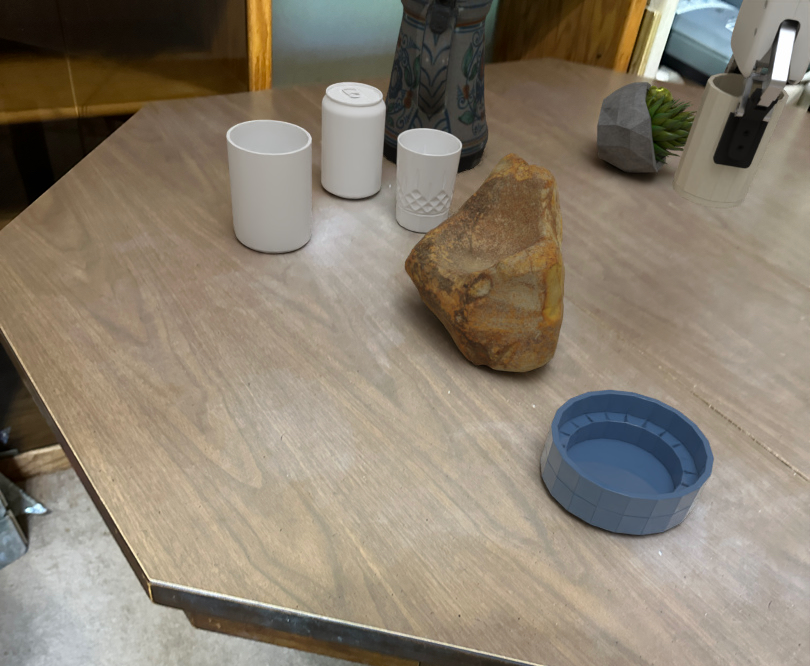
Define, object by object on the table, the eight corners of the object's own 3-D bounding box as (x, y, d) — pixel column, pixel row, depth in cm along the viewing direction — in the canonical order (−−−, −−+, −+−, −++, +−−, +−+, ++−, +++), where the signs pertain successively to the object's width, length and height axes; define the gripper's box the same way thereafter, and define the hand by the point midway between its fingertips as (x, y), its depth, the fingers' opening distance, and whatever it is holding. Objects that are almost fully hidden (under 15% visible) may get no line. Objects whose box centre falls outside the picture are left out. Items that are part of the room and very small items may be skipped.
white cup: (412, 240, 97) (420, 159, 90) (380, 212, 101) (385, 133, 94) (462, 229, 100) (474, 149, 93) (429, 202, 105) (438, 124, 97)
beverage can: (333, 205, 102) (335, 107, 93) (312, 178, 106) (312, 82, 97) (389, 198, 104) (396, 103, 95) (367, 172, 109) (371, 78, 100)
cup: (735, 180, 75) (777, 78, 68) (751, 212, 71) (797, 107, 64) (667, 171, 75) (702, 69, 68) (678, 203, 71) (716, 96, 64)
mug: (226, 250, 92) (217, 148, 83) (247, 204, 100) (241, 107, 91) (305, 260, 92) (304, 159, 83) (320, 213, 100) (321, 117, 91)
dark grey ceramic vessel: (458, 125, 123) (485, -70, 104) (511, 180, 112) (551, -29, 93) (360, 131, 118) (369, -73, 99) (404, 188, 107) (424, -30, 88)
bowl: (677, 438, 76) (696, 398, 72) (706, 547, 67) (729, 507, 63) (535, 423, 76) (546, 382, 72) (544, 530, 66) (558, 489, 62)
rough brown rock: (408, 265, 95) (408, 139, 83) (543, 269, 94) (563, 142, 83) (399, 387, 80) (398, 254, 68) (559, 392, 79) (586, 259, 68)
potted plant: (610, 116, 123) (710, 110, 117) (596, 193, 122) (695, 192, 116) (599, 64, 111) (709, 55, 105) (583, 149, 111) (692, 145, 105)
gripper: (906, -72, 51) (781, 196, 64) (849, -117, 62) (753, 118, 75) (791, -89, 51) (691, 181, 64) (756, -130, 62) (677, 106, 76)
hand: (726, 145), depth 70 cm, fingers closed on cup, 7 cm apart
